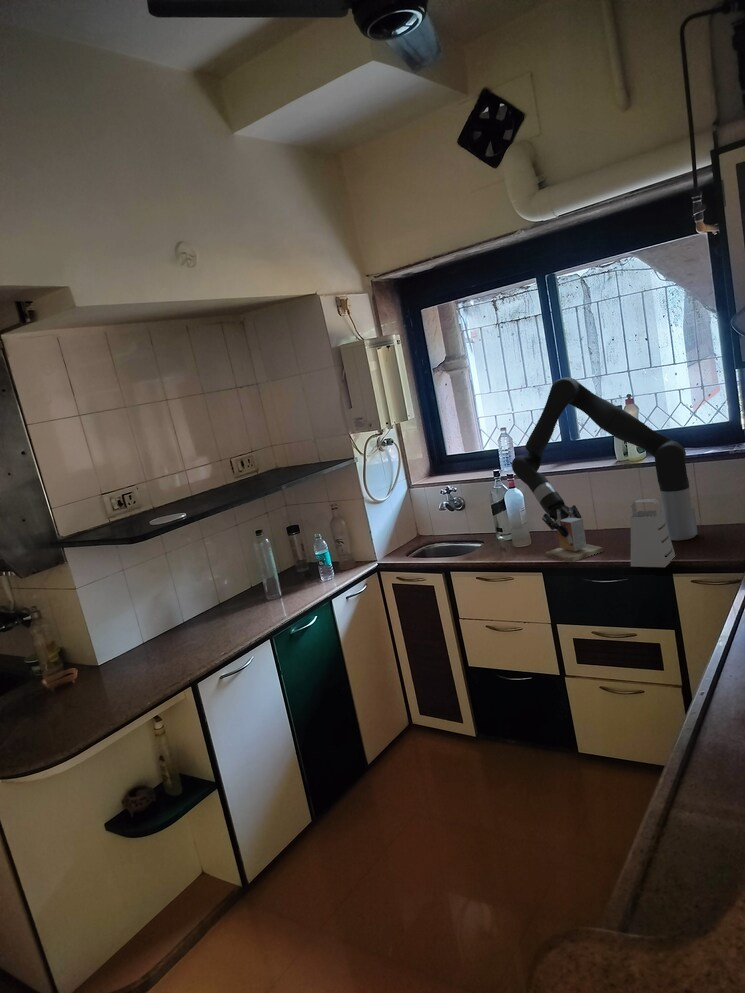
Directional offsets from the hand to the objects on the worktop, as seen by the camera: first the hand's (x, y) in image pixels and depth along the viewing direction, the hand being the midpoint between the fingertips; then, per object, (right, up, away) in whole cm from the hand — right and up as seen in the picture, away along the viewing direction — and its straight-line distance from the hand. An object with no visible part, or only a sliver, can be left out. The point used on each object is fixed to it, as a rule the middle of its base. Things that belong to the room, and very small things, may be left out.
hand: (574, 533), depth 232 cm
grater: (+19, -8, -22) cm, 30 cm away
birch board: (+1, -7, +3) cm, 8 cm away
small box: (0, -5, +3) cm, 6 cm away
